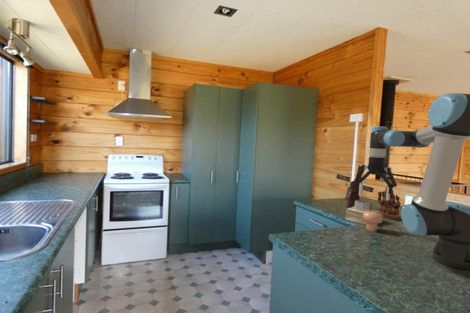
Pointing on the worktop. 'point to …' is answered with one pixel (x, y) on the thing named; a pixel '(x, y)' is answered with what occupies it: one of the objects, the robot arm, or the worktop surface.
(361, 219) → the square wooden block
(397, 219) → the sculpture
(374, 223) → the pink mushroom-shaped knob
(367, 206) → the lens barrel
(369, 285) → the worktop surface
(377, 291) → the worktop surface
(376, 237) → the worktop surface
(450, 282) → the worktop surface
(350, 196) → the miniature windmill
